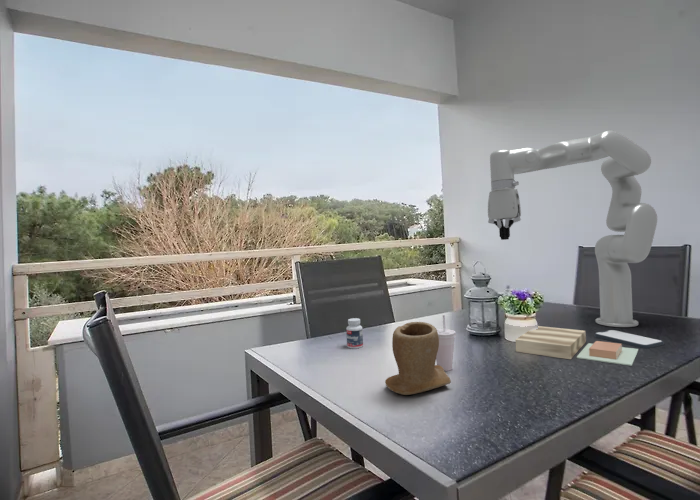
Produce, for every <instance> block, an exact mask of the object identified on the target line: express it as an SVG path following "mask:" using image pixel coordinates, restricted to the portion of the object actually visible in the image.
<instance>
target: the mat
mask: <svg viewBox="0 0 700 500" xmlns="http://www.w3.org/2000/svg"><path fill="white" fill-rule="evenodd" d="M593 344H594V343H589V342H588V343H587V344H586V345H585V346H584V347H583V349H582V350H581V351H580V352H579V354H577V356H576V359H580V360H588V361H595V362H603V363H610V364H615V365H616V364H617V365H623V366H630V367H631V366H632V367H633V364H634V363H635V360H636V357H637V354H638V352H639V348H633V347H624V346H622V352H621V353H620V355H619V356H618V358H617V359H609V358H602V357H595V356H589V348H590V347H591V346H592V345H593Z"/></svg>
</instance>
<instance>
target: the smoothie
mask: <svg viewBox="0 0 700 500" xmlns="http://www.w3.org/2000/svg"><path fill="white" fill-rule="evenodd" d="M436 329H437V332H438V336H439V348H438V352H437V356H436V362H435V364H436V365H439V366H441V367H443V369H444V372H449V371H452V370H453V363H454V362H453V359H454V351H455V350H454V349H455V338H456V336H457V333H456V331H455V330H453V329H451V328H450V329H449V328H446V314H442V328H436Z"/></svg>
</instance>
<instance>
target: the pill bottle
mask: <svg viewBox="0 0 700 500" xmlns="http://www.w3.org/2000/svg"><path fill="white" fill-rule="evenodd" d="M347 324H348V326H346V328H345V329H346V330H345V331H346V332H345V333H346V347H347V348H348V349H361V348H363V347H364V336H363V335H364V334H363V332H364V330H363V326H362V325H361V318H359V317H358V318H357V317H355V318H354V317H352V318H348V319H347Z"/></svg>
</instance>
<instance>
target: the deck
mask: <svg viewBox="0 0 700 500" xmlns="http://www.w3.org/2000/svg"><path fill="white" fill-rule="evenodd" d="M537 326H538V329H536V330H533V331H529V330H527V331H526V332H525V333H523V334H521V335H520V336H518V337H517V338H515V352H517V353H524V354H530V355H537V356H544V357H550V358H558V359H566V360H572V358H574V356H575V355H576V354H577V353H578V352H579V351H580V349H582V347H583V346H584V345H585V344H586V342H587V336H586V335H587V333H586V330H582V329H581V330H580V329H572V328H562V327H561V328H560V327H554V326H553V327H552V326H551V327H550V326H541V325H537Z"/></svg>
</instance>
